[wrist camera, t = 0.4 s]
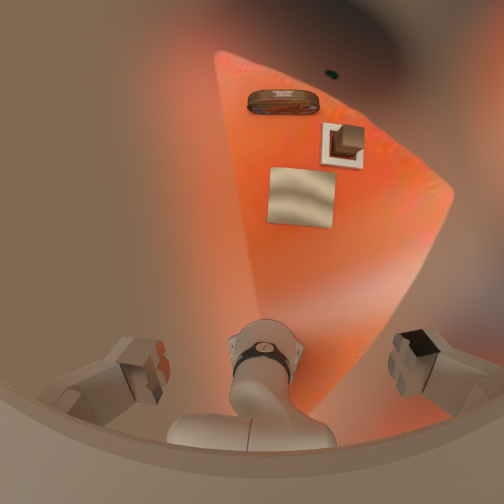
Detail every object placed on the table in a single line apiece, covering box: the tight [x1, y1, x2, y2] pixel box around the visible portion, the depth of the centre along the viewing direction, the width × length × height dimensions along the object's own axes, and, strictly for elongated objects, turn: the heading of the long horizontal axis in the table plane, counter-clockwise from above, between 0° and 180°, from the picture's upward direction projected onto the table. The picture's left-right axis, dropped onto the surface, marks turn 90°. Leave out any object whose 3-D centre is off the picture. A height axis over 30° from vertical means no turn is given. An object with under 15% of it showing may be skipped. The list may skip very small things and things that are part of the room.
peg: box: [331, 124, 364, 157], centre depth 48 cm, size 4×4×12 cm
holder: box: [320, 123, 363, 170], centre depth 53 cm, size 9×9×3 cm
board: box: [267, 167, 336, 228], centre depth 57 cm, size 12×14×1 cm
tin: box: [247, 90, 320, 115], centre depth 50 cm, size 15×3×8 cm, turn 90°
